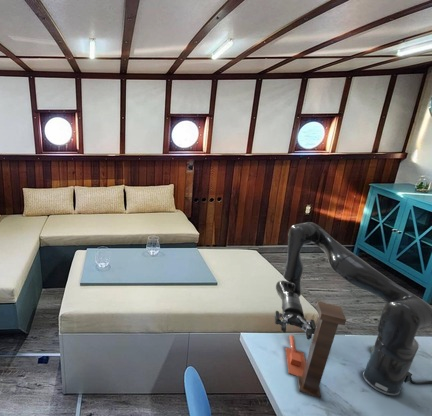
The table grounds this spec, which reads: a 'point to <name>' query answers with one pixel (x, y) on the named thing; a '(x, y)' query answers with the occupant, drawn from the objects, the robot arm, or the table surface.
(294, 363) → the orange toy mallet
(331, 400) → the table surface
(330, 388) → the table surface
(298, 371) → the terracotta mat
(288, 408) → the table surface
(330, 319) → the wooden square pillar
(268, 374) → the table surface
